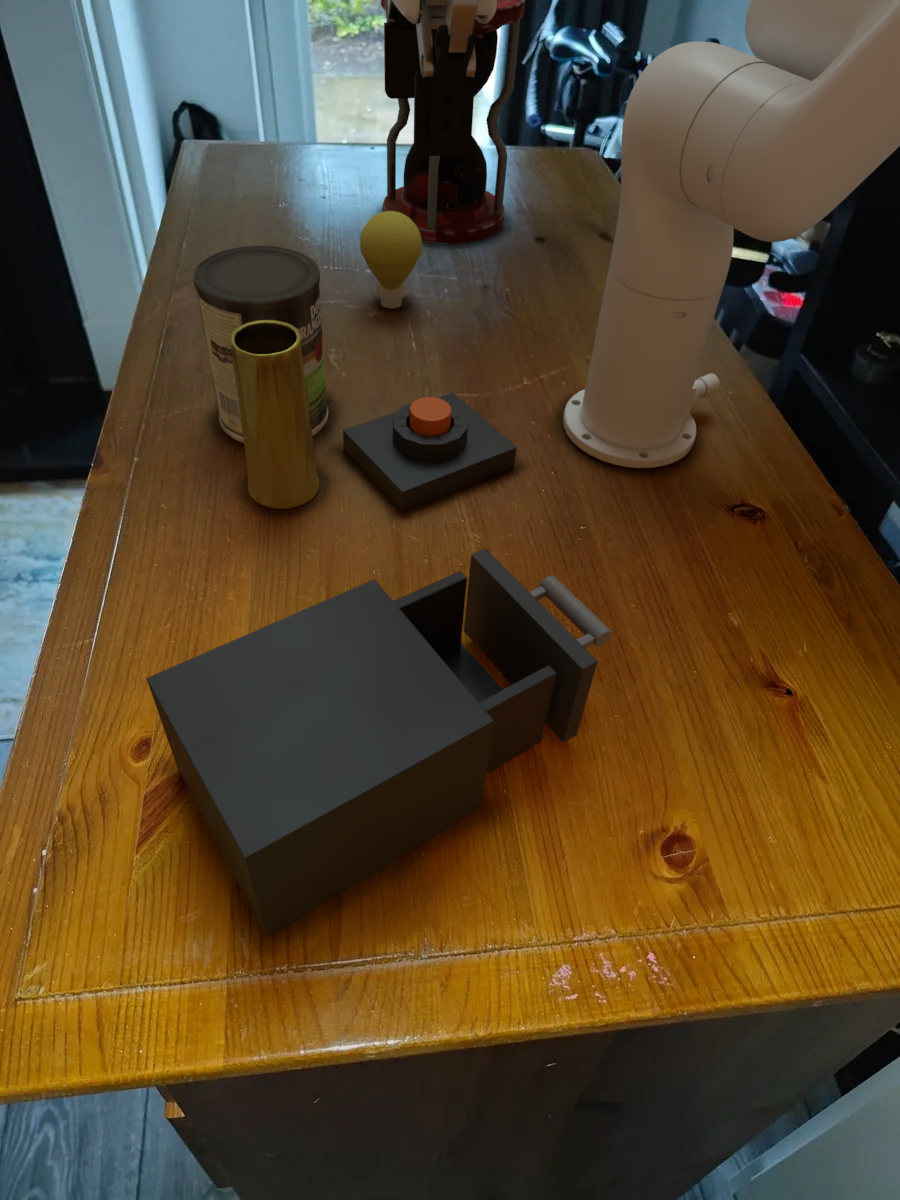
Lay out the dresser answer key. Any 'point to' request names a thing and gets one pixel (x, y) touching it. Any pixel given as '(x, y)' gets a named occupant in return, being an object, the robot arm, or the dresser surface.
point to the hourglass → (458, 156)
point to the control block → (428, 454)
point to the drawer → (512, 650)
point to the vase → (274, 414)
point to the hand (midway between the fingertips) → (425, 123)
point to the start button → (430, 416)
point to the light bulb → (391, 253)
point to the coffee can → (260, 318)
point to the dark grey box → (323, 748)
